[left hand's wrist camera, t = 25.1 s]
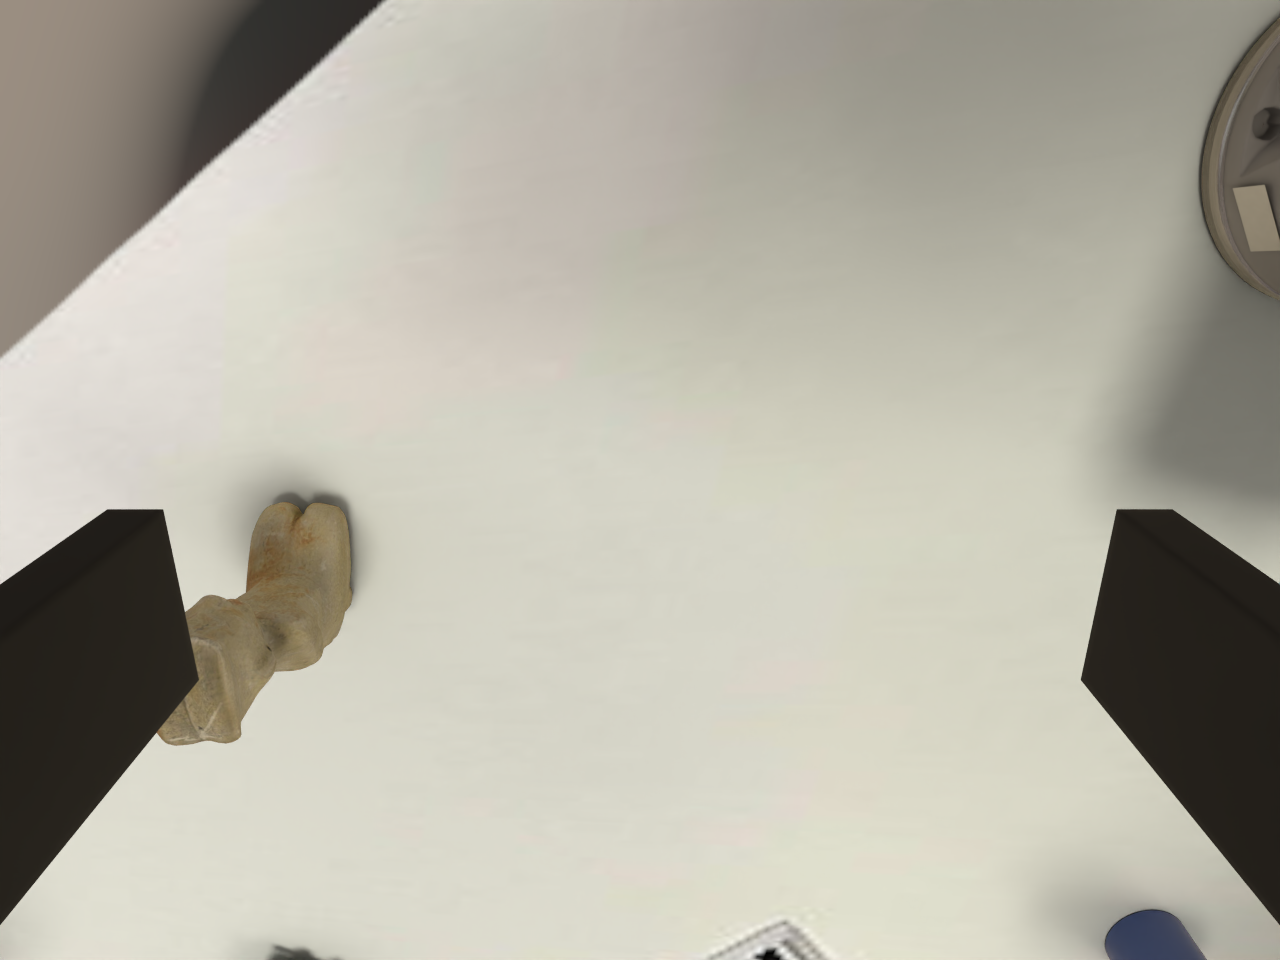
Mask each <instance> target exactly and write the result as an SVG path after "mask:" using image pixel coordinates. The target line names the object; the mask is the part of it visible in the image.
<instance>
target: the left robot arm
mask: <svg viewBox="0 0 1280 960" xmlns="http://www.w3.org/2000/svg"><path fill="white" fill-rule="evenodd" d="M1201 189H1202V200H1203V207H1204V212H1205V217H1206V221H1207V224H1208V227H1209V231H1210V234H1211V236H1212V238H1213V240H1214V242H1215V245H1216V247H1217V248H1218V250H1219V252H1220V253H1221V255H1222V257H1223V258H1224V260H1225V261H1226V262H1227V263H1228V265H1229V266H1230V267H1231V268H1232V270H1233V271H1234V272H1235V273H1236V274H1238V275H1239V276H1240V277H1241V278H1242V279H1243V280H1244V281H1245V282H1247V283H1248V284H1249V285H1251V286H1252V287H1254V288H1255V289H1257V290H1259V291H1260V292H1262V293H1264V294H1266V295H1268V296H1270V297H1273V298H1275V299H1278V300H1280V18H1279V19H1278V20H1277V21H1276V22H1274V23H1273V24H1272V25H1271V27H1270V28H1269V29H1268V30H1267V31H1266V32H1265V33H1264V34H1263V35H1262V36H1261V37H1260V38H1259V40H1258V41H1257V42H1256V43H1255V45H1254V46H1253V47H1252V48H1251V50H1250V51H1249V52H1248V53H1247V55H1246V56H1245V58H1244V59H1243V61H1242V62H1241V63H1240V65H1239V66H1238V68H1237V69H1236V71H1235V73H1234V74H1233V76H1232V78H1231V80H1230V81H1229V83H1228V85H1227V87H1226V89H1225V91H1224V93H1223V95H1222V97H1221V99H1220V101H1219V103H1218V106H1217V108H1216V111H1215V114H1214V116H1213V119H1212V122H1211V125H1210V129H1209V132H1208V136H1207V139H1206V144H1205V149H1204V155H1203V163H1202V180H1201ZM198 681H199V677H198V672H197V667H196V663H195V658H194V653H193V648H192V644H191V639H190V634H189V630H188V625H187V620H186V615H185V611H184V606H183V601H182V596H181V592H180V587H179V582H178V578H177V573H176V568H175V563H174V559H173V554H172V549H171V544H170V540H169V535H168V530H167V526H166V521H165V516H164V511H163V509H107V510H106V511H105V512H103V513H102V514H100V515H99V516H97V517H96V518H95V519H93V520H92V521H90V522H89V523H87V524H86V525H85V526H83V527H82V528H80V529H79V530H77V531H76V532H75V533H73V534H72V535H70V536H69V537H67V538H66V539H65V540H63V541H62V542H60V543H59V544H57V545H56V546H55V547H53V548H52V549H50V550H49V551H47V552H46V553H45V554H43V555H42V556H40V557H39V558H37V559H36V560H35V561H33V562H32V563H30V564H29V565H27V566H26V567H25V568H23V569H22V570H20V571H19V572H17V573H16V574H15V575H13V576H12V577H10V578H9V579H7V580H6V581H5V582H3V583H2V584H0V925H1V923H2V922H3V921H4V920H5V918H6V917H7V916H8V915H9V914H10V912H11V911H12V910H13V909H14V907H15V906H16V905H17V904H18V902H19V901H20V900H21V899H22V898H23V896H24V895H25V894H26V893H27V891H28V890H29V889H30V888H31V886H32V885H33V884H34V883H35V882H36V880H37V879H38V878H39V877H40V875H41V874H42V873H43V872H44V870H45V869H46V868H47V867H48V866H49V864H50V863H51V862H52V861H53V859H54V858H55V857H56V856H57V854H58V853H59V852H60V851H61V850H62V848H63V847H64V846H65V845H66V843H67V842H68V841H69V840H70V838H71V837H72V836H73V835H74V833H75V832H76V831H77V830H78V829H79V827H80V826H81V825H82V824H83V822H84V821H85V820H86V819H87V817H88V816H89V815H90V814H91V813H92V811H93V810H94V809H95V808H96V806H97V805H98V804H99V803H100V801H101V800H102V799H103V798H104V797H105V795H106V794H107V793H108V792H109V790H110V789H111V788H112V787H113V785H114V784H115V783H116V782H117V781H118V779H119V778H120V777H121V776H122V774H123V773H124V772H125V771H126V769H127V768H128V767H129V766H130V765H131V763H132V762H133V761H134V760H135V758H136V757H137V756H138V755H139V753H140V752H141V751H142V750H143V749H144V747H145V746H146V745H147V744H148V742H149V741H150V740H151V739H152V737H153V736H154V735H155V734H156V733H157V731H158V730H159V729H160V728H161V726H162V725H163V724H164V723H165V721H166V720H167V719H168V718H169V716H170V715H171V714H172V713H173V712H174V710H175V709H176V708H177V707H178V705H179V704H180V703H181V702H182V700H183V699H184V698H185V697H186V696H187V694H188V693H189V692H190V691H191V689H192V688H193V687H194V686H195V684H196V683H197V682H198ZM1081 681H1082V682H1083V683H1084V684H1085V686H1086V687H1087V688H1088V689H1089V691H1090V692H1091V693H1092V694H1093V696H1094V697H1095V698H1096V699H1097V700H1098V702H1099V703H1100V704H1101V705H1102V707H1103V708H1104V709H1105V710H1106V712H1107V713H1108V714H1109V715H1110V717H1111V718H1112V719H1113V720H1114V721H1115V723H1116V724H1117V725H1118V726H1119V728H1120V729H1121V730H1122V731H1123V733H1124V734H1125V735H1126V736H1127V737H1128V739H1129V740H1130V741H1131V742H1132V744H1133V745H1134V746H1135V747H1136V749H1137V750H1138V751H1139V752H1140V753H1141V755H1142V756H1143V757H1144V758H1145V760H1146V761H1147V762H1148V763H1149V765H1150V766H1151V767H1152V768H1153V769H1154V771H1155V772H1156V773H1157V774H1158V776H1159V777H1160V778H1161V779H1162V781H1163V782H1164V783H1165V784H1166V785H1167V787H1168V788H1169V789H1170V790H1171V792H1172V793H1173V794H1174V795H1175V797H1176V798H1177V799H1178V800H1179V801H1180V803H1181V804H1182V805H1183V806H1184V808H1185V809H1186V810H1187V811H1188V813H1189V814H1190V815H1191V816H1192V817H1193V819H1194V820H1195V821H1196V822H1197V824H1198V825H1199V826H1200V827H1201V829H1202V830H1203V831H1204V832H1205V833H1206V835H1207V836H1208V837H1209V838H1210V840H1211V841H1212V842H1213V843H1214V845H1215V846H1216V847H1217V848H1218V850H1219V851H1220V852H1221V853H1222V854H1223V856H1224V857H1225V858H1226V859H1227V861H1228V862H1229V863H1230V864H1231V866H1232V867H1233V868H1234V869H1235V870H1236V872H1237V873H1238V874H1239V875H1240V877H1241V878H1242V879H1243V880H1244V882H1245V883H1246V884H1247V885H1248V886H1249V888H1250V889H1251V890H1252V891H1253V893H1254V894H1255V895H1256V896H1257V898H1258V899H1259V900H1260V901H1261V902H1262V904H1263V905H1264V906H1265V907H1266V909H1267V910H1268V911H1269V912H1270V914H1271V915H1272V916H1273V917H1274V918H1275V920H1276V921H1277V922H1278V923H1279V925H1280V582H1279V584H1278V583H1277V582H1275V581H1274V580H1273V579H1271V578H1270V577H1268V576H1267V575H1265V574H1264V573H1263V572H1261V571H1260V570H1258V569H1257V568H1255V567H1254V566H1253V565H1251V564H1250V563H1248V562H1247V561H1245V560H1244V559H1243V558H1241V557H1240V556H1238V555H1237V554H1235V553H1234V552H1233V551H1231V550H1230V549H1228V548H1227V547H1225V546H1224V545H1223V544H1221V543H1220V542H1218V541H1217V540H1215V539H1214V538H1213V537H1211V536H1210V535H1208V534H1207V533H1205V532H1204V531H1203V530H1201V529H1200V528H1198V527H1197V526H1195V525H1194V524H1193V523H1191V522H1190V521H1188V520H1187V519H1185V518H1184V517H1183V516H1181V515H1180V514H1178V513H1177V512H1175V511H1174V510H1173V509H1117V511H1116V516H1115V521H1114V526H1113V530H1112V535H1111V540H1110V544H1109V549H1108V554H1107V559H1106V563H1105V568H1104V573H1103V578H1102V582H1101V587H1100V592H1099V596H1098V601H1097V606H1096V611H1095V615H1094V620H1093V625H1092V629H1091V634H1090V639H1089V644H1088V648H1087V653H1086V658H1085V663H1084V667H1083V672H1082V677H1081Z"/></svg>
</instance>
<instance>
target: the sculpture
mask: <svg viewBox="0 0 1280 960" xmlns="http://www.w3.org/2000/svg"><path fill="white" fill-rule="evenodd" d="M350 575H351V558H350V542H349V531H348V525H347V520H346V517H345V515H344V513H343V512H342V510H341V509H340V508H339V507H337V506H333V505H328V504H323V503H312V504H311V505H309V506H308V507H307V508H306V510H305V512H304V514H302V512H301V511H300V509H299V508H298V507H297V506H295V505H293V504H291V503H288V502H281V503H278V504H274V505H271V506H269V507H267V508H266V509H265V510H264V511H263V513H262V514H261V515H260V517H259V519H258V521H257V523H256V526H255V529H254V531H253V534H252V539H251V546H250V554H249V562H248V572H247V585H246V593H245V594H243V595H241V596H240V597H238V598H237V599H228V600H227V599H225V598H222V597H219V596H215V595H207V596H205V597H203V598H201V599H200V600H199V601H198V602H197V603H196V604H195V605H194V606H193V607H192V608H190V609H189V610H188V611H186V612H185V615H186V620H187V625H188V630H189V634H190V639H191V644H192V648H193V653H194V658H195V663H196V667H197V672H198V677H199V681H198V682H197V683H196V684H195V686H194V687H193V688H192V689H191V691H190V692H189V693H188V694H187V696H186V697H185V698H184V699H183V700H182V702H181V703H180V704H179V705H178V707H177V708H176V709H175V710H174V712H173V713H172V714H171V715H170V716H169V718H168V719H167V720H166V721H165V723H164V724H163V725H162V726H161V728H160V729H159V730H158V731H157V734H158V735H159V736H160V737H161V739H162V740H163V741H164V742H165V743H167V744H171V745H176V746H177V745H188V744H194V743H198V742H201V741H214V742H218V743H230V742H234V741H236V740H237V739H239V738H240V736H241V721H242V719H243V717H244V716H245V714H246V712H247V711H248V709H249V707H250V706H251V704H252V702H253V701H254V699H255V697H256V696H257V694H258V693H259V691H260V690H261V689H262V688H263V687H264V685H265V684H266V683H267V682H268V681H269V680H270V678H271V677H272V675H273V674H274V672H277V671H294V670H299V669H303V668H306V667H308V666H310V665H312V664H314V663H316V662H317V661H318V660H319V659H320V658H321V656H322V653H323V648H325V647H326V646H327V645H329V644H330V643H331V642H332V640H333V639H334V638H335V637H336V636H337V635H338V633H339V631H340V628H341V625H342V622H343V618H344V614H345V611H346V610H347V609H348V608H349V606H350V604H351V601H352V589H351V587H350V586H349V585H350Z"/></svg>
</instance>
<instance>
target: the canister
mask: <svg viewBox="0 0 1280 960" xmlns="http://www.w3.org/2000/svg"><path fill="white" fill-rule="evenodd" d="M1105 948H1106V952H1107V954H1108V956H1109V958H1110V960H1207V959H1206V958H1205V956H1204V955H1203V954H1202V952H1201V951H1200V949H1199V948H1198V946H1197V945H1196V943H1195V942H1194V940H1193V939H1192V938H1191V936H1190V935H1189V933H1188V932H1187V930H1186V929H1185V927H1184V926H1183V925H1182V923H1181V922H1180V921H1179V919H1177V918H1176V917H1175V916H1173V915H1171V914H1169V913H1167V912H1163V911H1157V910H1148V911H1141V912H1137V913H1134V914H1131V915H1129V916H1127V917H1125V918H1123V919H1122V920H1120V921H1119V922H1118V923H1117V924H1115V925H1114V926H1113V928H1112V929H1111V930H1110V932H1109V933H1108V935H1107V938H1106V942H1105Z"/></svg>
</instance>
